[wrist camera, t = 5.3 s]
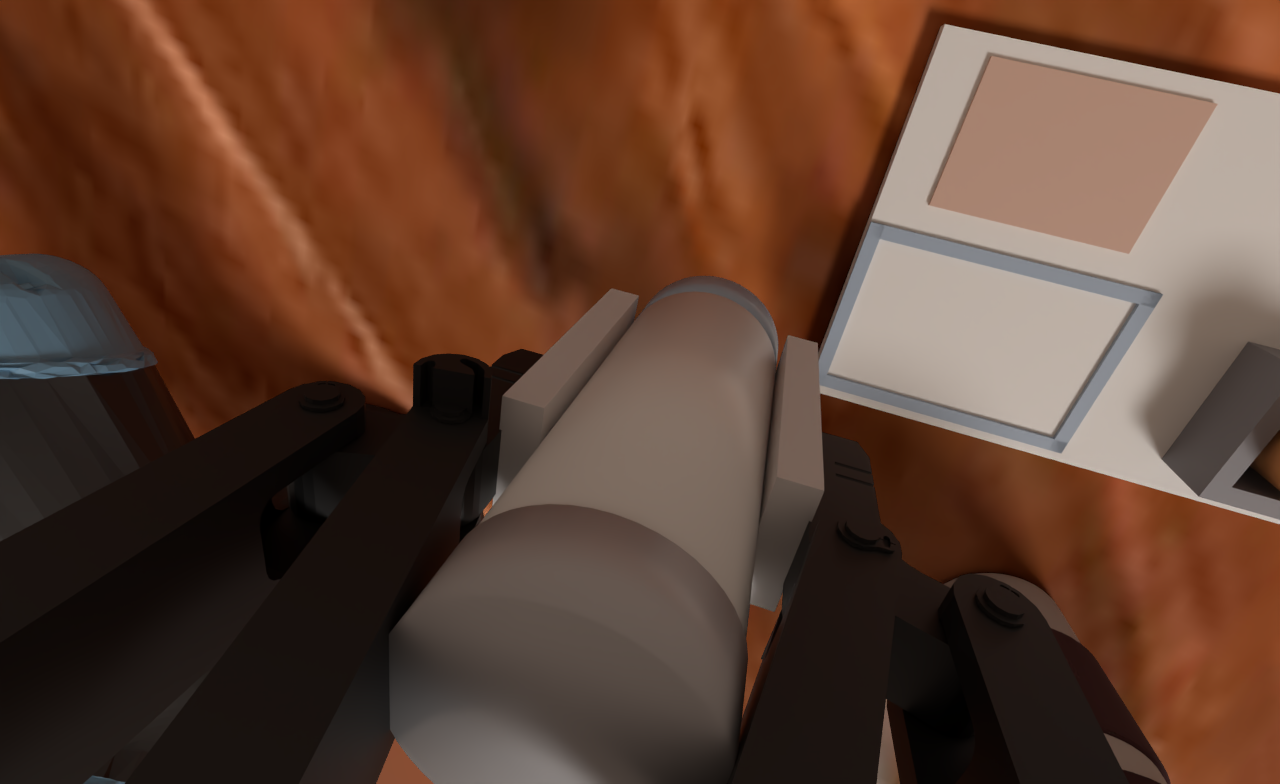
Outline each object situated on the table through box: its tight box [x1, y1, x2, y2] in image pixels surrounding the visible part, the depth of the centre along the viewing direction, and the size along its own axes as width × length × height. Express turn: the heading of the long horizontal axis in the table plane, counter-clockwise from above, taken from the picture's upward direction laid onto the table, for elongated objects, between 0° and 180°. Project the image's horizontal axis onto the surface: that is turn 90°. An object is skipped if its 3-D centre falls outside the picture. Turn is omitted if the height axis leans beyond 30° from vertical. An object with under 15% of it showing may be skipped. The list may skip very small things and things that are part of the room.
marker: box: [389, 276, 778, 784], centre depth 12 cm, size 4×4×12 cm
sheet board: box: [818, 24, 1280, 524], centre depth 24 cm, size 22×16×4 cm
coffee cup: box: [944, 573, 1170, 784], centre depth 28 cm, size 10×10×15 cm
